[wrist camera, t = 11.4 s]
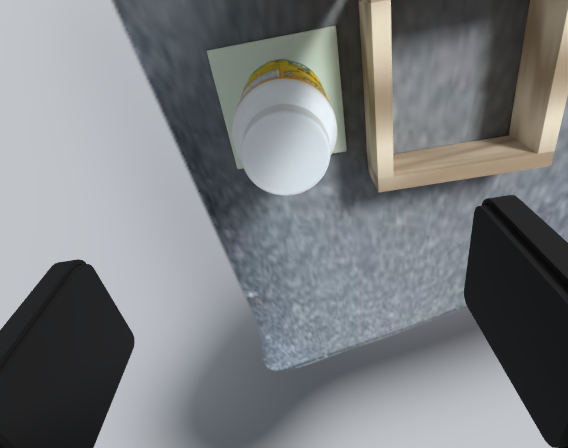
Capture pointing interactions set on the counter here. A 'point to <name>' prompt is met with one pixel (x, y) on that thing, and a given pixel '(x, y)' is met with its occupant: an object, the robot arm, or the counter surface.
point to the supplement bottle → (284, 128)
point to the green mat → (299, 47)
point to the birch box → (482, 153)
